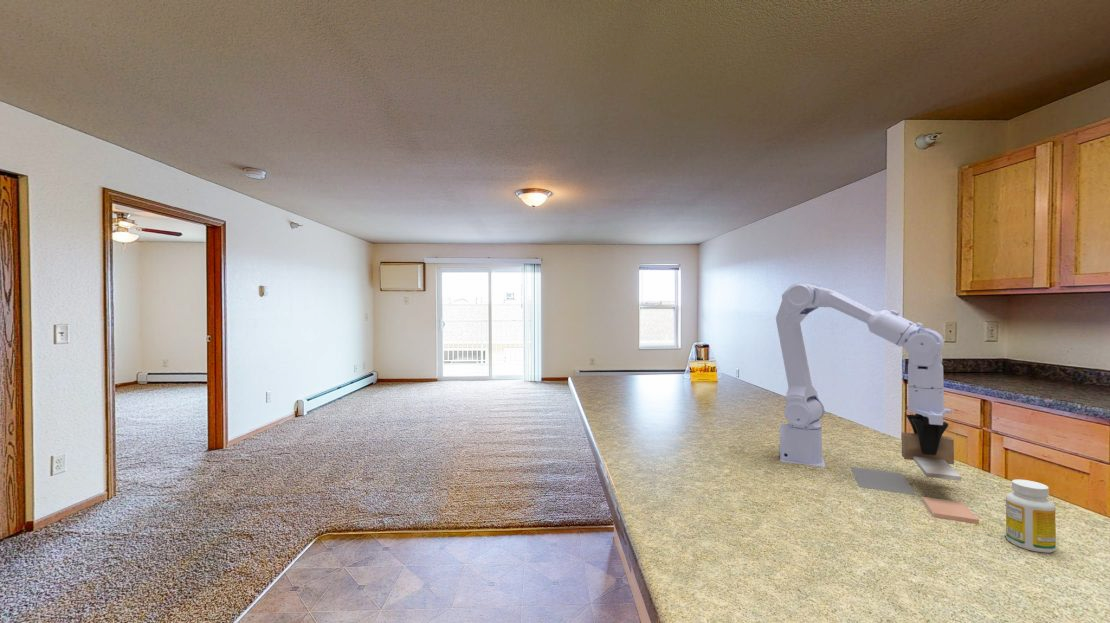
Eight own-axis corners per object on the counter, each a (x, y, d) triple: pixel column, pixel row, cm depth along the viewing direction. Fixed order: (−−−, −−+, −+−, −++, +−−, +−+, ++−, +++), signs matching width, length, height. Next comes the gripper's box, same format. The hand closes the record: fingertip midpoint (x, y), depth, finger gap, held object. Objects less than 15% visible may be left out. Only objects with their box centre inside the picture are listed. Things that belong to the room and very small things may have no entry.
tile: (921, 505, 86) (933, 522, 79) (921, 496, 86) (933, 512, 79) (962, 511, 83) (978, 529, 76) (962, 502, 83) (978, 519, 76)
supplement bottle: (1004, 544, 71) (1002, 483, 71) (1008, 533, 74) (1007, 475, 74) (1055, 558, 67) (1053, 493, 67) (1057, 545, 70) (1056, 484, 70)
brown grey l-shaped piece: (916, 475, 86) (916, 449, 85) (901, 455, 96) (901, 432, 96) (971, 482, 82) (971, 455, 82) (949, 460, 93) (949, 436, 93)
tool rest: (858, 489, 93) (858, 486, 93) (850, 469, 105) (850, 466, 105) (916, 497, 89) (916, 494, 89) (901, 475, 101) (901, 473, 101)
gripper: (962, 393, 85) (964, 465, 85) (939, 383, 98) (940, 445, 98) (916, 391, 88) (917, 460, 88) (899, 381, 101) (900, 441, 101)
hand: (926, 452), depth 93 cm, fingers closed on brown grey l-shaped piece, 2 cm apart
